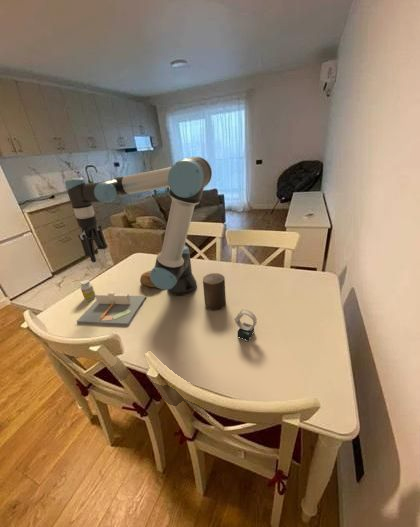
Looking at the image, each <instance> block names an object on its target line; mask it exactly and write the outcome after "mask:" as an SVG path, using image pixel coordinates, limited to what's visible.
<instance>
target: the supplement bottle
mask: <svg viewBox="0 0 420 527" xmlns="http://www.w3.org/2000/svg"><path fill="white" fill-rule="evenodd" d="M90 282H91V281H90V280H89V279H84V280H82V281H80V290H81V293H82V296H83V298H84V300H85V301H87V302H88V301H92V300H95V299H96V297H95V295H96V291H95V289H94V287H93V284H92V283H90Z"/></svg>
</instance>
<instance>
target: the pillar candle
mask: <svg viewBox="0 0 420 527" xmlns="http://www.w3.org/2000/svg"><path fill="white" fill-rule="evenodd" d="M225 279H226V278H225V276H224V275H223V274H221V273H217V272H216V273H215V272H214V273H213V272H211V273H209V274H206V275H204V276H203V277H202V284H203V296H204V305H205V307H206V308H207V309H208V310H211V311H218V310H222V309H224V308H225V307H226V304H227V300H226V298H227V297H226V281H225Z"/></svg>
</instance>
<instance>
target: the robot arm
mask: <svg viewBox="0 0 420 527" xmlns="http://www.w3.org/2000/svg"><path fill="white" fill-rule="evenodd" d="M212 172H213V171H212V167H211V164H209V162H208V161H207V160H206V159H205V158H203V157H201V156H192V157H187V158H181V159H179V160H177V161H176V162H175V163H174V164H172V165H171V166H169V167H165V168H159V169H155V170H150V171H145V172H140V173H135V174H130V175H125V176H118V177H114V178H110V179H106V180H102V181H99V182H91V183H90V182H89V183H88V182H86V180H85V178H83V177H77V178H76V177H75V178H74V177H73V178H68V179H66V180H64V186H65V188H66V194H67V195H68V199H69V200H70V204H71V206H72V210H73V212H74V216H75V218H76V223H77V225H78V227H79V228H81V234H78V236H77V237H78V239H79V240H80V242H81V246H82V248H83V252H84V255H85V256H86V257H89V258H90V261H91V263H92V266H93V268H94V269H100V268H101V265H100V262H99V259H100V261H101V263H107V262H108V260H107V256H106V252H105V249H106V248H107V247H106V245H107V244H106V241H105V237H104V234H103V231H102V225H97V224H98V219H97V216H96V215H95V213H96V212H95V209H94V207H93V203H112V202H114V201H115V199H116V198H117V197H121V196H126V195H131V194H137V193H142V192H150V191H155V190H163V189H167V188H169V191H168V192H169V193H168V195H169V197H170V199H171V204H170V209H169V214H168V219H167V224H166V228H165V233H164V239H163V243H162V247H161V251H160V252H159V253H158V254H157V256H156V259H155V262H154V263H155V265H154V267H153V268H152V269H151V270H150V271H151V272H150V279H151V281H152V282H153V283H154V285H155V286H156V287H158V289H160V290H163V291H166V290H167V291H168V293H169V294H170V295H173V296H180V297H181V296H187V295H190V294H192V293H194V291H196V289H197V288H198V284H197V280H196V278H195V276H194V274H193V273H192V272H193V270H192V264H191V255H190V248H189V247H188V246H187V245H186V240H187V238H188V234H189V230H190V225H191V222H192V218H193V215H194V214H193V213H194V211H195V206H196V205H198V204H200V203H201V200H202V196H203V192H204V188H205V187H206V186H208V185H209V183H210V182H211V179H212V174H213V173H212ZM94 242H95V243H94ZM94 244H95V245H96V246H97V253H98V255H97V254H95V246H94ZM98 256H99V258H98Z"/></svg>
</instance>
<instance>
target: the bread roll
mask: <svg viewBox="0 0 420 527" xmlns="http://www.w3.org/2000/svg"><path fill="white" fill-rule="evenodd" d="M150 272H151V270H148V271H145V272H143V273H142V274H141V276H140V279H139V280H140V281H139V282H140V284H141V285H142V286H145V287H150V288H156V289H157V288H158V287H156V286H155V285H154V283H153V282H152V281H151V279H150ZM158 289H159V288H158Z"/></svg>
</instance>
